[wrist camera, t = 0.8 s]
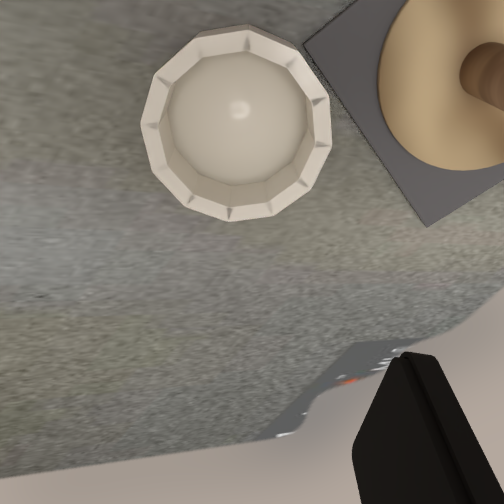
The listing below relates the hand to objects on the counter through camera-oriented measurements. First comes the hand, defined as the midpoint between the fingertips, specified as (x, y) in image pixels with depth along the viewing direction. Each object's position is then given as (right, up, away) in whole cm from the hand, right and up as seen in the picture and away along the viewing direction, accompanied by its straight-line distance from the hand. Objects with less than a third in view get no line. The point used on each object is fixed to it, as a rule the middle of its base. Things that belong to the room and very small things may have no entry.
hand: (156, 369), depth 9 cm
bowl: (+1, +11, +22) cm, 25 cm away
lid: (+16, +14, +21) cm, 30 cm away
